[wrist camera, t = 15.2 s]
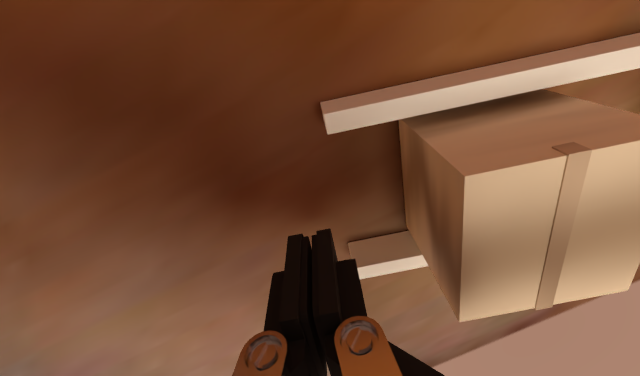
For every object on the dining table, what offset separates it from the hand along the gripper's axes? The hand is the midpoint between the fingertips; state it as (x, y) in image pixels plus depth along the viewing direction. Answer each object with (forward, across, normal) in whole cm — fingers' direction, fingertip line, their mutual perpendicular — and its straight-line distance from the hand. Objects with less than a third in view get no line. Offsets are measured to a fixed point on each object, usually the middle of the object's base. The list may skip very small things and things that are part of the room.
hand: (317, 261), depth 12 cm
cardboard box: (+4, -8, -1) cm, 9 cm away
